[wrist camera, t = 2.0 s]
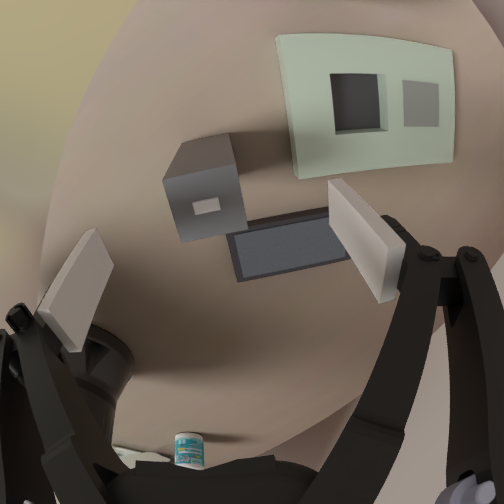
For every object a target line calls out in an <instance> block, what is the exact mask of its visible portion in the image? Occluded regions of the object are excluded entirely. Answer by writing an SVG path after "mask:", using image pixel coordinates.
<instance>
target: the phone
mask: <svg viewBox="0 0 504 504" xmlns="http://www.w3.org/2000/svg"><path fill="white" fill-rule="evenodd" d="M247 225H248V229H247V230H242V231H237V232H232V233H227V234H226V237H227V241H228V245H229V249H230V253H231V257H232V261H233V266H234V270H235V274H236V278H237V282H243V281H248V280H253V279H258V278H263V277H268V276H273V275H278V274H283V273H288V272H293V271H297V270H302V269H307V268H312V267H316V266H321V265H326V264H330V263H335V262H340V261H344V260H349V259H351V257H350V255H349V254H348V252H347V251H346V249H345V247H344V246H343V244H342V243H341V241H340V240H339V238H338V237H337V235H336V234H335V232H334V231H333V229H332V228H331V226H330V225H329V207H323V208H317V209H312V210H306V211H300V212H295V213H289V214H284V215H279V216H273V217H268V218H263V219H257V220H252V221H247Z"/></svg>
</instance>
